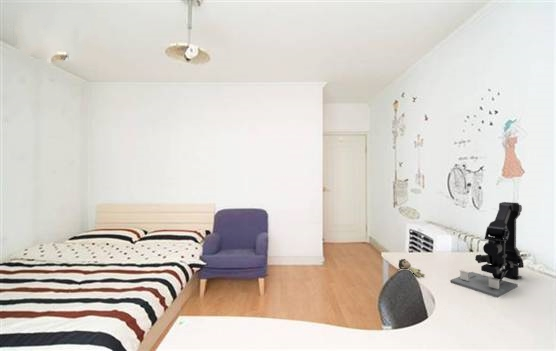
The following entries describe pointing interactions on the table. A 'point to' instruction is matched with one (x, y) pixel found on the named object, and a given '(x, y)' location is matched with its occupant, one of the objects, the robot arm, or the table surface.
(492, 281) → the fader
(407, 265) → the figurine
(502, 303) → the table surface
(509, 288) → the console
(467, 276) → the fader
